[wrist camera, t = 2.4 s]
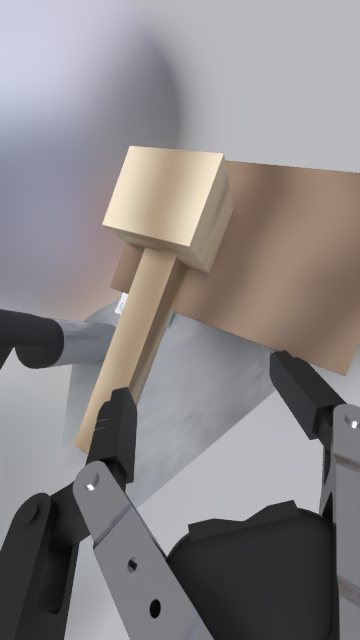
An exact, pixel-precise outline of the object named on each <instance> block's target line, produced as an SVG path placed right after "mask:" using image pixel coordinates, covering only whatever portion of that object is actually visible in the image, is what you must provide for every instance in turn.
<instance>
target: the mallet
mask: <svg viewBox="0 0 360 640" xmlns="http://www.w3.org/2000/svg"><path fill="white" fill-rule="evenodd" d="M232 212H233V204H232V198H231V193H230V187H229V181H228V175H227V170H226V164H225V158H224V154H222V153H210V152H198V151H186V150H173V149H161V148H149V147H137V146H130V147H129V150H128V153H127V156H126V159H125V162H124V165H123V167H122V170H121V173H120V176H119V179H118V181H117V184H116V187H115V190H114V193H113V196H112V198H111V201H110V204H109V207H108V210H107V213H106V216H105V218H104V221H103V224H102V225H104V226H105V227H106V228H108V229H109V230H110V231H112V232H113V233H114V234H116V235H117V236H118V237H120V238H121V239H122V240H124V241H125V242H126V243H128V244H129V245H130V246H132V247H133V248H134V249H136V250H137V251H138V252H140V253H141V254H142V258H141V261H140V264H139V266H138V269H137V272H136V275H135V277H134V280H133V283H132V286H131V288H130V291H129V294H128V297H127V299H126V302H125V305H124V308H123V310H122V313H121V316H120V319H119V322H118V324H117V327H116V330H115V333H114V335H113V338H112V341H111V344H110V346H109V349H108V352H107V355H106V357H105V360H104V363H103V366H102V368H101V371H100V374H99V377H98V380H97V382H96V385H95V388H94V391H93V393H92V396H91V399H90V402H89V404H88V407H87V410H86V413H85V415H84V418H83V421H82V424H81V426H80V429H79V432H78V435H77V438H76V440H75V443H74V445H75V446H76V447H78V448H79V449H80V450H82V451H83V452H84V453H86V454H87V455H88V453H89V449H90V445H91V441H92V437H93V432H94V431H95V429H94V428H95V424H96V420H97V416H98V412H99V410H100V408H101V407H102V405H103V403H104V402H106V401H110V399H111V394H112V390H114V389H118V388H122V387H128V389H129V391H130V393H131V395H132V398H133V400H134V402H135V404H136V407H137V404H138V401H139V399H140V396H141V393H142V390H143V388H144V385H145V382H146V380H147V377H148V374H149V372H150V369H151V366H152V364H153V361H154V358H155V355H156V353H157V350H158V347H159V345H160V342H161V339H162V337H163V334H164V331H165V329H166V326H167V323H168V320H169V318H170V315H171V312H172V310H173V307H174V304H175V302H176V299H177V296H178V294H179V291H180V288H181V285H182V283H183V280H184V277H185V275H186V272H187V269H188V268H190V269H193V270H197V271H200V272H204V273H207V274H209V273H210V270H211V268H212V265H213V262H214V260H215V257H216V254H217V252H218V249H219V246H220V244H221V241H222V238H223V236H224V233H225V230H226V228H227V225H228V222H229V220H230V217H231V214H232Z"/></svg>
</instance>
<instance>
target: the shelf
mask: <svg viewBox="0 0 360 640" xmlns="http://www.w3.org/2000/svg"><path fill="white" fill-rule="evenodd" d="M225 164H226V170H227V175H228V181H229V187H230V193H231V198H232V204H233V212H232V214H231V217H230V220H229V222H228V225H227V228H226V230H225V233H224V236H223V238H222V241H221V244H220V246H219V249H218V252H217V254H216V257H215V260H214V262H213V265H212V268H211V270H210V273H209V274H207V273H204V272H200V271H197V270H193V269H190V268H188V269H187V272H186V275H185V277H184V280H183V283H182V285H181V288H180V291H179V294H178V296H177V299H176V302H175V304H174V307H173V310H172V311H174V312H176V313H179V314H182V315H184V316H187V317H190V318H192V319H195V320H197V321H200V322H203V323H205V324H208V325H211V326H213V327H216V328H219V329H221V330H224V331H227V332H229V333H232V334H235V335H237V336H240V337H242V338H245V339H248V340H250V341H253V342H256V343H258V344H261V345H264V346H266V347H269V348H272V349H274V350H277V351H283V350H286V351H287V352H288V353H289V354H290V355H291V356H293V357H295V358H296V357H299V358H300V359H302V360H304V361H306V362H309V363H311V364H314V365H317V366H319V367H322V368H325V369H327V370H330V371H333V372H335V373H338V374H340V375H343V376H346V374H347V372H348V369H349V367H350V364H351V362H352V359H353V357H354V355H355V352H356V349H357V347H358V345H359V342H360V173H353V172H342V171H331V170H321V169H309V168H299V167H289V166H278V165H267V164H256V163H246V162H235V161H225ZM141 258H142V254H141V253H140V252H138V251H137V250H136V249H134V248H133V247H132V246H130V245H129V244H128V243H126V244H125V247H124V250H123V253H122V255H121V258H120V261H119V264H118V267H117V269H116V272H115V275H114V278H113V281H112V284H111V286H110V288H113V289H116V290H118V291H121V292H123V293H126V294H129V291H130V288H131V286H132V283H133V280H134V277H135V275H136V272H137V269H138V266H139V264H140V261H141Z"/></svg>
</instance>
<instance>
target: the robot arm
mask: <svg viewBox="0 0 360 640" xmlns="http://www.w3.org/2000/svg"><path fill="white" fill-rule="evenodd" d="M115 330H116V328H114V327H113V326H111V325H108V324H98V323H89V322H79V321H69V320H58V319H49V318H42V317H39V316H35V315H32V314H27V313H21V312H14V311H8V310H2V309H0V369H1V368H2V366H3V364H4V363H5V361H6V359H7V357H8V355H9V354H10V352H11V350H12V349H13V348H14V347H15V351H16V354H17V357H18V359H19V360H20V362H21V363H22V364H23V365H24V366H26V367H28V368H32V369H39V368H47V367H54V366H62V365H68V364H76V363H84V362H92V361H100V360H105V357H106V355H107V352H108V349H109V346H110V344H111V341H112V338H113V335H114V333H115ZM270 378H271V381H272V383H273V385H274V386H275V388H276V389H277V391H278V392H279V393H280V395H281V397H282V398H283V400H284V401H285V403H286V404H287V406H288V407H289V409H290V411H291V412H292V414H293V415H294V417H295V418H296V419H297V421H298V423H299V424H300V426H301V427H302V428H303V430H304V432H305V433H306V435H307V436H308V438H309V439H310V440H312V439H317V438H318V439H319V440H320V442H321V443H322V444H323V446H324V447H323V471H322V491H321V498H320V507H319V514H317V513H314V512H312V511H309V510H305V509H302V508H297V506H296V504H295V502H294V500H291V501H286V502H282V503H278V504H274V505H269V506H267V507H265V508H264V509H262V510H261V511H259V512H258V513H256V514H255V515H253V516H252V517H250V518H249V519H247V520H245V521H232V520H223V519H210V520H205V521H201V522H197V523H193V524H189V525H188V528H189V533H188V534H186V535H185V536H184V537H182V538H181V539H180V540H179V541H178V542H177V543H176V545H175V546H174V547H173V549H172V550H171V552H170V553H169V555H168V556H166V554H165V553H164V551H163V550H162V548H161V547H160V545H159V544H158V542H157V540H156V539H155V538H154V536H153V535H152V533H151V532H150V530H149V528H148V527H147V525H146V524H145V522H144V521H143V519H142V518H141V516H140V514H139V513H138V511H137V510H136V508H135V507H134V505H133V503H132V502H131V500H130V499H129V497H128V496H127V494H126V493H125V489H126V484H127V483H132V482H133V480H134V463H135V446H136V429H137V408H136V404H135V402H134V400H133V398H132V395H131V393H130V391H129V389H128V387H122V388H118V389H114V390H112V394H111V399H110V401H106V402H104V403H103V405H102V407H101V408H100V410H99V412H98V416H97V420H96V424H95V428H94V429H95V431H94V432H93V437H92V441H91V445H90V449H89V453H88V457H87V461H86V465H85V467H84V468H83V469H82V470H81V471H80V472H79V473H78V475H77V477H76V479H75V481H73V482H72V483H71V484H70V485H68V486H66V487H65V488H63V489H61V490H60V491H58V492H56V493H55V494H53V495H51V496H49V495H48V494H46V493H38V494H35V495H33V496H32V497H30V498H29V499H28V500H26V502H24V504H22V505H21V507H20V508H19V509H18V511H17V512H16V514H15V516H14V518H13V520H12V522H11V525H10V528H9V530H8V533H7V535H6V538H5V541H4V543H3V546H2V549H1V551H0V640H64V635H65V630H66V623H67V616H68V610H69V604H70V599H71V593H72V586H73V580H74V574H75V568H76V562H77V556H78V550H79V543H80V541H82V540H83V539H85V538H86V537H88V536H89V535H91V536H92V538H93V541H94V545H93V550H94V554H95V556H96V559H97V561H98V564H99V566H100V568H101V571H102V573H103V576H104V578H105V580H106V583H107V585H108V588H109V590H110V593H111V595H112V597H113V600H114V602H115V605H116V607H117V609H118V612H119V614H120V617H121V619H122V621H123V624H124V626H125V629H126V631H127V633H128V636H129V638H130V640H360V407H358V406H355V405H351V404H347V403H346V402H345V401H344V400H343V399H342V398H341V397H340V396H339V395H338V394H337V393H336V392H335V391H334V390H333V389H332V388H331V387H330V386H329V384H327V382H326V381H325V380H324V379H323V378H321V376H320V375H319V374H318V373H317V372H315V370H314V369H313V368H312V367H311V366H310V364H309V363H307V362H306V361H304V360H302V359H300V358H299V357H296V358H293V357H292V356H291V355H290V354H289V353H288V352H287V351H286V350H283V351H278V352H274V353H271V354H270Z"/></svg>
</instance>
